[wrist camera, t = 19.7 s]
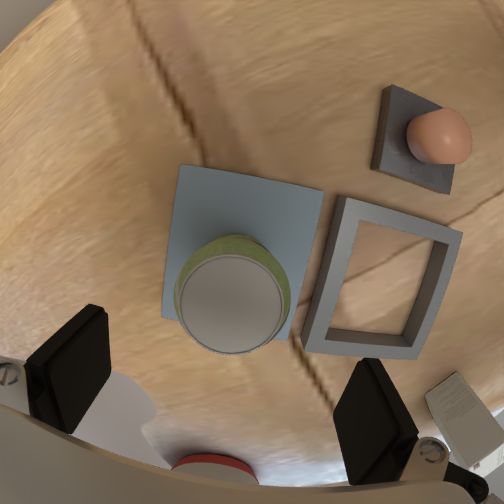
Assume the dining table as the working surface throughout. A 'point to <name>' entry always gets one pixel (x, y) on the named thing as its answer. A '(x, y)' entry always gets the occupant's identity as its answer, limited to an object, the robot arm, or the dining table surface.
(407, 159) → the button base
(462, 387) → the skincare box
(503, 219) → the dining table surface
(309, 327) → the frame
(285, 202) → the mat
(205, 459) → the citrus juicer
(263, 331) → the beverage can
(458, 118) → the button
